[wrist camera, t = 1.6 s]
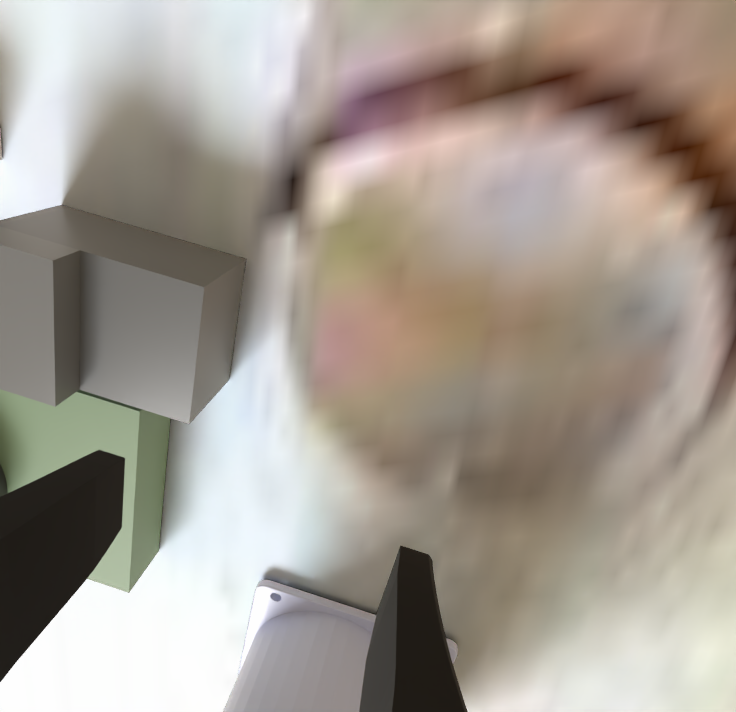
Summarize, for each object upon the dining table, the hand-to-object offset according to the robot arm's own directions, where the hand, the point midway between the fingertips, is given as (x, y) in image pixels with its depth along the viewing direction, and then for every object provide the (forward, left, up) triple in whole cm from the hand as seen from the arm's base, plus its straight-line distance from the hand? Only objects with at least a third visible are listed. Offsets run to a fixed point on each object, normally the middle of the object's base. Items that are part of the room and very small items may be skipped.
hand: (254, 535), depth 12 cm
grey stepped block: (+8, 0, -10) cm, 12 cm away
